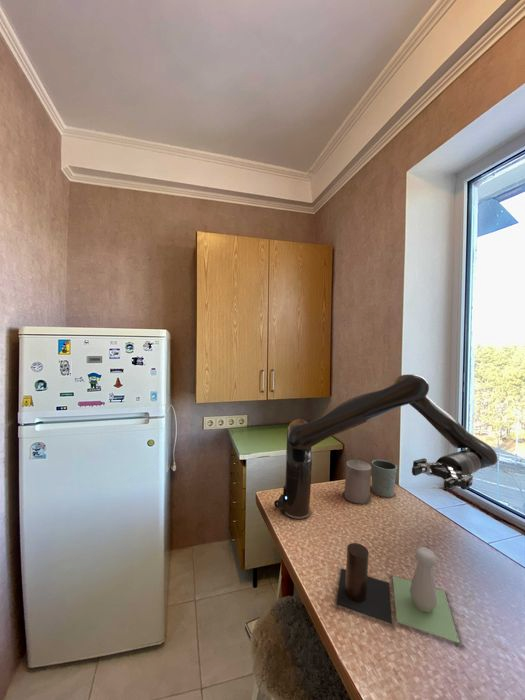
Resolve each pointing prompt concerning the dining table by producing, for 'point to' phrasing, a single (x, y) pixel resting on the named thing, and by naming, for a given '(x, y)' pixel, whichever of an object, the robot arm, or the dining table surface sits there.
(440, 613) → the sage mat
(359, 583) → the dark brown cylinder
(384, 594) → the dark mat
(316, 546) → the dining table surface
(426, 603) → the salt shaker
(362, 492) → the pillar candle
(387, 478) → the grey-green plant pot
